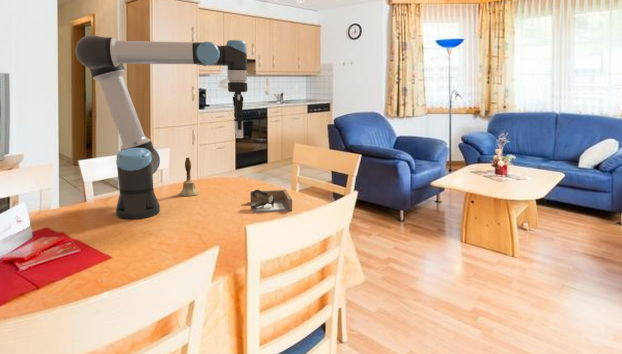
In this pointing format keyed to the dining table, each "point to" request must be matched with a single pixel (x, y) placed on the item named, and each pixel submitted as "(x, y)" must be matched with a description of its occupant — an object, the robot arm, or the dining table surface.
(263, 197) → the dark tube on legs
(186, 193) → the hand bell
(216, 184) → the dining table surface
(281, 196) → the tray
